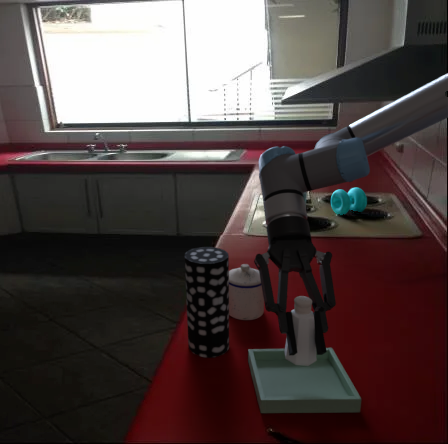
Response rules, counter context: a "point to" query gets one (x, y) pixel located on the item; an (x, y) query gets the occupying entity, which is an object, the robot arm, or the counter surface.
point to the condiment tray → (301, 384)
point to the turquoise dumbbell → (348, 200)
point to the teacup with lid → (245, 293)
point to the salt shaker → (303, 333)
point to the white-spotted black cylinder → (207, 301)
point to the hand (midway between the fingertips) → (307, 353)
